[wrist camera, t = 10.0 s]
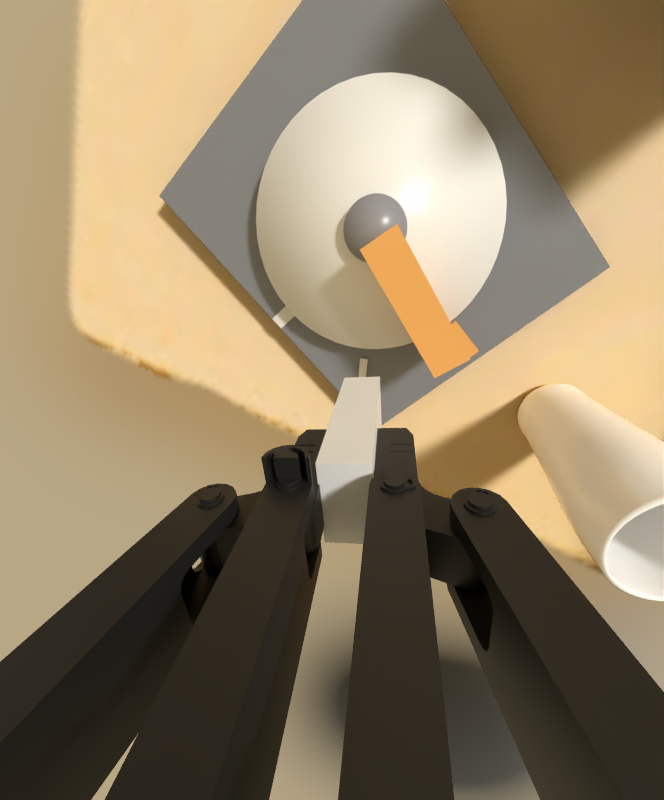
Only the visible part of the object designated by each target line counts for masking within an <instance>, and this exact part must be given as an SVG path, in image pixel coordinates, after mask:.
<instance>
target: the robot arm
mask: <svg viewBox="0 0 664 800" xmlns="http://www.w3.org/2000/svg"><path fill="white" fill-rule="evenodd" d="M262 463H263V469H264V474H265V480H266V484H265V486H264V488H263V490H262V491H260V492H256V493H252V494H246V495H241V496H237V494H236V491H235V489H234V488H233V487H232V486H230V485H227V484H214V485H208V486H206V487H203V488H201V489H199V490H197V492H194V493H193V494H192V495H190V496H189V497H188V498H187V499H186V500H185V501H184V502H183V503H181V504H180V505H179V506H178V507H177V508H176V509H174V510H173V511H172V512H171V513H170V514H169V515H168V516H166V517H165V518H164V519H163V520H162V521H161V522H160V523H158V524H157V525H156V526H155V527H154V528H153V529H152V530H150V531H149V532H148V533H147V534H146V535H145V536H144V537H142V538H141V539H140V540H139V541H138V542H137V543H136V544H134V545H133V546H132V547H131V548H130V549H129V550H128V551H126V552H125V553H124V554H123V555H122V556H121V557H120V558H118V559H117V560H116V561H115V562H114V563H113V564H112V565H111V566H109V567H108V568H107V569H106V570H105V571H104V572H102V573H101V574H100V575H99V576H98V577H97V578H96V579H94V580H93V581H92V582H91V583H90V584H89V585H88V586H86V587H85V588H84V589H83V590H82V591H81V592H80V593H78V594H77V595H76V596H75V597H74V598H73V599H72V600H70V601H69V602H68V603H67V604H66V605H65V606H64V607H63V608H61V609H60V610H59V611H58V612H57V613H56V614H54V615H53V616H52V617H51V618H50V619H49V620H48V621H46V622H45V623H44V624H43V625H42V626H41V627H40V628H38V629H37V630H36V631H35V632H34V633H33V634H32V635H30V636H29V637H28V638H27V639H26V640H25V641H24V642H22V643H21V644H20V645H19V646H18V647H17V648H16V649H14V650H13V651H12V652H11V653H10V654H9V655H8V656H6V657H5V658H4V659H3V660H2V661H1V662H0V800H91V799H92V798H93V796H94V795H95V793H96V792H97V791H98V789H99V788H100V786H101V785H102V784H103V782H104V781H105V779H106V778H107V777H108V775H109V774H110V772H111V771H112V770H113V768H114V767H115V765H116V764H117V762H118V761H119V760H120V758H121V757H122V755H123V754H124V753H125V751H126V750H127V748H128V747H129V745H130V744H131V743H132V741H133V740H134V738H135V737H136V736H137V737H136V739H135V741H134V744H133V745H132V747H131V749H130V751H129V753H128V755H127V757H126V759H125V761H124V763H123V765H122V767H121V769H120V771H119V773H118V775H117V777H116V779H115V781H114V782H113V785H112V787H111V788H110V790H109V792H108V795H107V796H106V798H105V800H269V797H270V792H271V788H272V783H273V779H274V774H275V770H276V765H277V760H278V756H279V751H280V746H281V742H282V737H283V733H284V728H285V723H286V718H287V714H288V709H289V705H290V701H291V696H292V691H293V686H294V682H295V678H296V673H297V668H298V664H299V659H300V655H301V650H302V645H303V641H304V636H305V631H306V627H307V622H308V617H309V613H310V609H311V604H312V599H313V595H314V590H315V585H316V581H317V576H318V572H319V567H320V562H321V558H322V549H321V537H322V533H323V531H324V539H325V542H335V543H357V544H363V552H362V562H361V563H362V564H361V572H360V583H359V594H358V603H357V614H356V623H355V634H354V644H353V654H352V664H351V674H350V684H349V694H348V704H347V715H346V725H345V735H344V746H343V756H342V765H341V775H340V785H339V797H338V800H454V794H453V784H452V775H451V765H450V756H449V747H448V738H447V728H446V720H445V710H444V701H443V692H442V682H441V673H440V663H439V654H438V645H437V635H436V626H435V617H434V609H433V598H432V589H431V580H430V577H431V578H434V579H437V580H440V581H442V582H445V583H447V587H448V590H449V593H450V595H451V597H452V600H453V602H454V604H455V606H456V609H457V611H458V613H459V616H460V618H461V620H462V622H463V625H464V627H465V629H466V632H467V634H468V636H469V638H470V641H471V643H472V645H473V647H474V650H475V652H476V654H477V657H478V659H479V661H480V663H481V666H482V668H483V670H484V673H485V675H486V677H487V679H488V682H489V684H490V686H491V688H492V691H493V693H494V695H495V698H496V700H497V702H498V704H499V707H500V709H501V711H502V713H503V716H504V718H505V720H506V723H507V725H508V727H509V729H510V732H511V734H512V736H513V738H514V741H515V743H516V745H517V747H518V750H519V752H520V755H521V757H522V759H523V761H524V764H525V766H526V768H527V770H528V773H529V775H530V777H531V780H532V782H533V784H534V786H535V788H536V791H537V793H538V795H539V798H540V800H664V692H663V691H662V689H661V688H660V687H659V686H658V685H657V683H656V682H655V681H654V680H653V678H652V677H651V676H650V675H649V674H648V672H647V671H646V670H645V669H644V668H643V666H642V665H641V664H640V663H639V661H638V660H637V659H636V658H635V657H634V655H633V654H632V653H631V652H630V651H629V649H628V648H627V647H626V646H625V645H624V643H623V642H622V641H621V640H620V638H619V637H618V636H617V635H616V633H615V632H614V631H613V630H612V629H611V627H610V626H609V625H608V624H607V622H606V621H605V620H604V619H603V618H602V617H601V615H600V614H599V613H598V612H597V610H596V609H595V608H594V607H593V605H592V604H591V603H590V602H589V601H588V600H587V598H586V597H585V596H584V595H583V593H582V592H581V591H580V590H579V588H578V587H577V586H576V585H575V584H574V582H573V581H572V580H571V579H570V577H569V576H568V575H567V574H566V573H565V571H564V570H563V569H562V568H561V566H560V565H559V564H558V563H557V562H556V560H555V559H554V558H553V557H552V556H551V554H550V553H549V552H548V551H547V549H546V548H545V547H544V546H543V545H542V543H541V542H540V541H539V540H538V538H537V537H536V536H535V535H534V534H533V532H532V531H531V530H530V529H529V528H528V526H527V525H526V524H525V523H524V521H523V520H522V519H521V518H520V517H519V515H518V514H517V513H516V512H515V510H514V509H513V508H512V507H511V506H510V504H509V503H508V502H507V501H506V500H505V499H504V498H502V497H501V496H500V495H498V494H496V493H494V492H492V491H490V490H486V489H481V488H466V489H462V490H459V491H457V492H456V493H455V494H453V495H452V498H451V499H449V498H445V497H441V496H438V495H434V494H432V493H430V492H428V491H427V490H426V489H424V488H423V487H422V486H421V484H420V483H419V481H418V477H417V467H416V458H415V448H414V438H413V435H412V434H411V433H410V431H409V430H408V429H407V428H382V420H381V392H380V377H348V378H344V381H343V384H342V387H341V389H340V392H339V395H338V398H337V401H336V404H335V407H334V410H333V413H332V416H331V419H330V422H329V425H328V428H327V430H306V431H305V432H304V433H303V434H301V435H300V436H299V437H298V439H297V441H296V443H295V445H286V446H280V447H277V448H274V449H272V450H270V451H268V452H266V453H265V454H264V455H263V456H262ZM199 557H200V558H201V561H202V562H201V563H200V564H199V565H198V566H197V567H196V568H194V569H193V568H192V565H193V564H194V563H195V562H196V561H197V560H198V559H199ZM137 734H138V735H137Z"/></svg>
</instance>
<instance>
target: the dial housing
mask: <svg viewBox="0 0 664 800" xmlns="http://www.w3.org/2000/svg"><path fill="white" fill-rule="evenodd" d="M388 72H394V73H402V74H411V75H414V76H418V77H421V78H424V79H428V80H430V81H432V82H434V83H436V84H438V85H440V86H442V87H445V88H446V89H448V90H449V91H450V92H452V93H453V94H455V95H456V96H457V97H459V98H460V99H462V100H463V101H464V102H465V103H466V104H467V105H468V106H469V107H470V108H471V109H472V110H473V111H474V112H475V114H476V115H477V116H478V118H479V119H480V121H481V122H482V123H483V125H484V126H485V127H486V129H487V131H488V133H489V135H490V137H491V139H492V140H493V142H494V144H495V147H496V149H497V152H498V155H499V158H500V161H501V164H502V168H503V173H504V178H505V184H506V198H507V207H506V222H505V228H504V233H503V239H502V242H501V246H500V249H499V252H498V256H497V258H496V261H495V263H494V265H493V267H492V270H491V272H490V274H489V276H488V277H487V279H486V281H485V283H484V284H483V286H482V288H481V289H480V291H479V292H478V293H477V295H476V296H475V297H474V299H473V300H472V301H471V303H470V304H469V305H468V306H467V307H466V308H465V309H464V310H463V311H462V312H461V313H460V314H459V315H458V316H457V317H455V318H454V319H453V320H452V321H451V324H452V326H453V328H454V330H455V332H456V333H457V335H458V337H459V339H460V341H461V343H462V345H463V346H464V348H465V350H466V352H467V354H468V356H469V358H470V359H471V360H469V361H467V362H465V363H463V364H461V365H459V366H457V367H455V368H453V369H452V370H450V371H448V372H446V373H444V374H442V375H440V376H438V377H436V378H434V377H433V375H432V373H431V371H430V370H429V368H428V366H427V365H426V363H425V361H424V359H423V358H422V356H421V354H420V353H419V351H418V349H417V347H416V346H415V344H414V342H413V343H410V344H407V345H403V346H398V347H393V348H385V349H362V348H356V347H350V346H346V345H343V344H340V343H336V342H334V341H332V340H329V339H327V338H325V337H323V336H321V335H319V334H318V333H316V332H314V331H313V330H311V329H310V328H308V327H307V326H306V325H305V324H303V323H302V322H301V321H300V320H298V319H297V318H296V317H295V316H294V315H293V313H292V312H291V311H290V310H289V309H288V308H287V307H286V306H285V304H284V303H283V302H282V300H281V299H280V298H279V296H278V294H277V293H276V291H275V289H274V288H273V286H272V284H271V282H270V280H269V278H268V275H267V273H266V271H265V268H264V265H263V262H262V258H261V255H260V250H259V245H258V240H257V229H256V207H257V198H258V191H259V185H260V182H261V178H262V175H263V171H264V168H265V165H266V163H267V160H268V158H269V155H270V153H271V151H272V149H273V147H274V145H275V144H276V142H277V140H278V138H279V136H280V135H281V133H282V132H283V131H284V129H285V128H286V127H287V125H288V124H289V123H290V121H291V120H292V119H293V118H294V117H295V116H296V114H297V113H298V112H299V111H300V110H301V109H302V108H303V107H304V106H305V105H306V104H308V103H309V102H310V101H312V100H313V99H314V98H315V97H317V96H318V95H319V94H321V93H322V92H324V91H326V90H328V89H329V88H331V87H333V86H335V85H336V84H338V83H341V82H344V81H346V80H349V79H351V78H354V77H358V76H363V75H367V74H372V73H388ZM160 197H161V198H162V199H163V200H164V201H165V203H166V204H167V205H168V206H169V207H170V208H171V209H172V210H173V211H174V212H175V214H176V215H177V216H178V217H179V218H180V219H181V220H182V221H183V222H184V223H185V224H186V226H187V227H188V228H189V229H190V230H191V231H192V232H193V233H194V234H195V235H196V236H197V238H198V239H199V240H200V241H201V242H202V243H203V244H204V245H205V246H206V247H207V248H208V250H209V251H210V252H211V253H212V254H213V255H214V256H215V257H216V258H217V259H218V261H219V262H220V263H221V264H222V265H223V266H224V267H225V268H226V269H227V270H228V271H229V273H230V274H231V275H232V276H233V277H234V278H235V279H236V280H237V281H238V282H239V283H240V285H241V286H242V287H243V288H244V289H245V290H246V291H247V292H248V293H249V294H250V296H251V297H252V298H253V299H254V300H255V301H256V302H257V303H258V304H259V305H260V306H261V308H262V309H263V310H264V311H265V312H266V313H267V314H268V315H269V316H270V317H271V318H272V320H273V321H274V322H275V323H276V324H277V325H278V326H279V327H280V328H281V329H282V331H283V332H284V333H285V334H286V335H287V336H288V337H289V338H290V339H291V340H292V341H293V343H294V344H295V345H296V346H297V347H298V348H299V349H300V350H301V351H302V352H303V353H304V355H305V356H306V357H307V358H308V359H309V360H310V361H311V362H312V363H313V364H314V365H315V367H316V368H317V369H318V370H319V371H320V372H321V373H322V374H323V375H324V376H325V378H326V379H327V380H328V381H329V382H330V383H331V384H332V385H333V386H334V387H335V388H336V390H337V391H338V392H340V389H341V387H342V384H343V381H344V378H348V377H380V392H381V420H382V425H383V424H384V423H385V422H387V421H388V420H390V419H391V418H393V417H394V416H396V415H397V414H398V413H400V412H401V411H403V410H404V409H406V408H407V407H409V406H410V405H411V404H413V403H414V402H416V401H417V400H419V399H420V398H422V397H423V396H424V395H426V394H427V393H429V392H430V391H432V390H433V389H435V388H436V387H437V386H439V385H440V384H442V383H443V382H445V381H446V380H448V379H449V378H450V377H452V376H453V375H455V374H456V373H458V372H459V371H461V370H462V369H463V368H465V367H466V366H468V365H469V364H471V363H472V362H473V361H475V360H476V359H478V358H479V357H481V356H482V355H484V354H485V353H486V352H488V351H489V350H491V349H492V348H494V347H495V346H497V345H498V344H499V343H501V342H502V341H504V340H505V339H507V338H508V337H510V336H511V335H512V334H514V333H515V332H517V331H518V330H520V329H521V328H523V327H524V326H525V325H527V324H528V323H530V322H531V321H533V320H534V319H536V318H537V317H538V316H540V315H541V314H543V313H544V312H546V311H547V310H549V309H550V308H551V307H553V306H554V305H556V304H557V303H559V302H560V301H562V300H563V299H564V298H566V297H567V296H569V295H570V294H572V293H573V292H575V291H576V290H577V289H579V288H580V287H582V286H583V285H585V284H586V283H588V282H589V281H590V280H592V279H593V278H595V277H596V276H598V275H599V274H601V273H602V272H603V271H605V270H606V269H608V268H609V267H610V266H609V265H608V263H607V261H606V260H605V258H604V257H603V255H602V253H601V252H600V250H599V249H598V247H597V245H596V244H595V242H594V241H593V239H592V237H591V236H590V234H589V232H588V231H587V229H586V228H585V226H584V224H583V223H582V221H581V220H580V218H579V216H578V215H577V213H576V212H575V210H574V208H573V207H572V205H571V204H570V202H569V200H568V199H567V197H566V195H565V194H564V192H563V191H562V189H561V187H560V186H559V184H558V183H557V181H556V179H555V178H554V176H553V175H552V173H551V171H550V170H549V168H548V167H547V165H546V163H545V162H544V160H543V158H542V157H541V155H540V154H539V152H538V150H537V149H536V147H535V146H534V144H533V142H532V141H531V139H530V138H529V136H528V134H527V133H526V131H525V130H524V128H523V126H522V125H521V123H520V121H519V120H518V118H517V117H516V115H515V113H514V112H513V110H512V109H511V107H510V105H509V104H508V102H507V101H506V99H505V97H504V96H503V94H502V93H501V91H500V89H499V88H498V86H497V84H496V83H495V81H494V80H493V78H492V76H491V75H490V73H489V72H488V70H487V68H486V67H485V65H484V64H483V62H482V60H481V59H480V57H479V56H478V54H477V52H476V51H475V49H474V47H473V46H472V44H471V43H470V41H469V39H468V38H467V36H466V35H465V33H464V31H463V30H462V28H461V27H460V25H459V23H458V22H457V20H456V19H455V17H454V15H453V14H452V12H451V10H450V9H449V7H448V6H447V4H446V2H445V1H444V0H303V1H302V2H301V3H300V5H299V6H298V7H297V9H296V10H295V11H294V13H293V14H292V16H291V17H290V18H289V20H288V21H287V22H286V24H285V25H284V26H283V28H282V29H281V31H280V32H279V33H278V35H277V36H276V37H275V39H274V40H273V41H272V43H271V44H270V46H269V47H268V48H267V50H266V51H265V52H264V54H263V55H262V56H261V58H260V59H259V61H258V62H257V63H256V65H255V66H254V67H253V69H252V70H251V71H250V73H249V74H248V76H247V77H246V78H245V80H244V81H243V82H242V84H241V85H240V86H239V88H238V89H237V91H236V92H235V93H234V95H233V96H232V97H231V99H230V100H229V101H228V103H227V104H226V106H225V107H224V108H223V110H222V111H221V112H220V114H219V115H218V116H217V118H216V119H215V121H214V122H213V123H212V125H211V126H210V127H209V129H208V130H207V131H206V133H205V134H204V136H203V137H202V138H201V140H200V141H199V142H198V144H197V145H196V146H195V148H194V149H193V151H192V152H191V153H190V155H189V156H188V157H187V159H186V160H185V162H184V163H183V164H182V166H181V167H180V168H179V170H178V171H177V172H176V174H175V175H174V177H173V178H172V179H171V181H170V182H169V183H168V185H167V186H166V187H165V189H164V190H163V192H162V193H161V194H160Z"/></svg>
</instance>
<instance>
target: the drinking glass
mask: <svg viewBox="0 0 664 800" xmlns="http://www.w3.org/2000/svg"><path fill="white" fill-rule="evenodd" d="M517 418H518V424H519V427H520V429H521V431H522V432H523V434H524V435H525V437H526V438H527V440H528V442H529V444H530V446H531V448H532V450H533V452H534V454H535V456H536V458H537V460H538V462H539V464H540V466H541V468H542V470H543V472H544V474H545V476H546V478H547V480H548V482H549V484H550V486H551V488H552V490H553V493H554V495H555V497H556V499H557V501H558V503H559V505H560V507H561V509H562V511H563V513H564V514H565V516H566V518H567V520H568V521H569V523H570V525H571V527H572V528H573V530H574V532H575V533H576V535H577V536H578V538H579V539H580V541H581V543H582V544H583V546H584V547H585V549H586V550H587V551H588V553H589V554H590V556H591V557H592V559H593V560H594V561H595V563H596V564H597V565H598V567H599V568H600V570H601V571H602V572H603V574H604V575H605V577H606V578H607V579H608V580H609V581H610V582H611V583H612V584H613V585H615V586H616V587H617V588H618V589H620V590H622V591H624V592H626V593H628V594H630V595H632V596H635V597H638V598H642V599H647V600H653V601H664V441H662V440H660V439H659V438H657V437H655V436H653V435H652V434H650V433H648V432H647V431H645V430H643V429H642V428H640V427H638V426H636V425H635V424H633V423H631V422H630V421H628V420H626V419H625V418H623V417H621V416H620V415H618V414H616V413H615V412H613V411H611V410H610V409H608V408H606V407H605V406H603V405H601V404H600V403H598V402H596V401H595V400H593V399H591V398H590V397H589V396H587V395H586V394H585V393H584V392H582V391H581V390H579V389H578V388H576V387H574V386H571V385H568V384H562V383H554V384H548V385H544V386H541V387H539V388H537V389H535V390H534V391H532V392H531V393H530V394H528V395H527V396H526V397H525V399H524V400H523V401H522V403H521V405H520V407H519V410H518V416H517Z"/></svg>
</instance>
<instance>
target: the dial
mask: <svg viewBox="0 0 664 800" xmlns="http://www.w3.org/2000/svg"><path fill="white" fill-rule="evenodd" d="M506 207H507V198H506V184H505V178H504V173H503V168H502V164H501V161H500V158H499V155H498V152H497V149H496V147H495V144H494V142H493V140H492V139H491V137H490V135H489V133H488V131H487V129H486V127H485V126H484V125H483V123H482V122H481V121H480V119H479V118H478V116H477V115H476V114H475V112H474V111H473V110H472V109H471V108H470V107H469V106H468V105H467V104H466V103H465V102H464V101H463V100H462V99H460V98H459V97H457V96H456V95H455V94H453V93H452V92H450V91H449V90H448V89H446V88H445V87H442V86H440V85H438V84H436V83H434V82H432V81H430V80H428V79H424V78H421V77H418V76H414V75H411V74H402V73H394V72H388V73H372V74H367V75H363V76H358V77H354V78H351V79H349V80H346V81H344V82H341V83H338V84H336V85H335V86H333V87H331V88H329V89H328V90H326V91H324V92H322V93H321V94H319V95H318V96H317V97H315V98H314V99H313V100H312V101H310V102H309V103H308V104H306V105H305V106H304V107H303V108H302V109H301V110H300V111H299V112H298V113H297V114H296V116H295V117H294V118H293V119H292V120H291V121H290V123H289V124H288V125H287V127H286V128H285V129H284V131H283V132H282V133H281V135H280V136H279V138H278V140H277V142H276V144H275V145H274V147H273V149H272V151H271V153H270V155H269V158H268V160H267V163H266V165H265V168H264V171H263V175H262V178H261V182H260V185H259V191H258V198H257V207H256V229H257V240H258V245H259V250H260V255H261V258H262V262H263V265H264V268H265V271H266V273H267V275H268V278H269V280H270V282H271V284H272V286H273V288H274V289H275V291H276V293H277V294H278V296H279V298H280V299H281V300H282V302H283V303H284V304H285V306H286V307H287V308H288V309H289V310H290V311H291V312H292V313H293V315H294V316H295V317H296V318H297V319H298V320H300V321H301V322H302V323H303V324H305V325H306V326H307V327H308V328H310V329H311V330H313V331H314V332H316V333H318V334H319V335H321V336H323V337H325V338H327V339H329V340H332V341H334V342H336V343H340V344H343V345H346V346H350V347H356V348H362V349H385V348H393V347H398V346H403V345H407V344H410V343H413V342H414V344H415V346H416V347H417V349H418V351H419V353H420V354H421V356H422V358H423V359H424V361H425V363H426V365H427V366H428V368H429V370H430V371H431V373H432V375H433V377H434V378H436V377H438V376H440V375H442V374H444V373H446V372H448V371H450V370H452V369H453V368H455V367H457V366H459V365H461V364H463V363H465V362H467V361H469V360H471V359H470V358H469V356H468V354H467V352H466V350H465V348H464V346H463V345H462V343H461V341H460V339H459V337H458V335H457V333H456V332H455V330H454V328H453V326H452V324H451V321H452V320H453V319H454V318H455V317H457V316H458V315H459V314H460V313H461V312H462V311H463V310H464V309H465V308H466V307H467V306H468V305H469V304H470V303H471V301H472V300H473V299H474V297H475V296H476V295H477V293H478V292H479V291H480V289H481V288H482V286H483V284H484V283H485V281H486V279H487V277H488V276H489V274H490V272H491V270H492V267H493V265H494V263H495V261H496V258H497V256H498V252H499V249H500V246H501V242H502V239H503V233H504V228H505V222H506Z"/></svg>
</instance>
